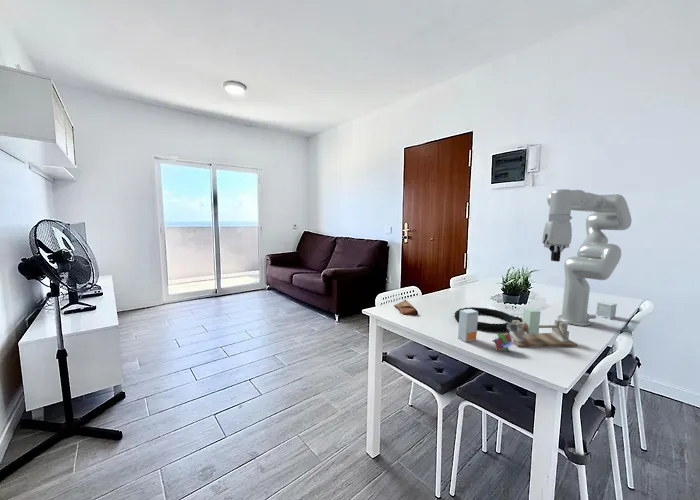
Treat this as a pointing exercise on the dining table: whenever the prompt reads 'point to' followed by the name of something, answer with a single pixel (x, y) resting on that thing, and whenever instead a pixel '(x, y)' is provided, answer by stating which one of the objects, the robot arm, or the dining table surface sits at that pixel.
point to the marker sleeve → (531, 320)
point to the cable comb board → (540, 335)
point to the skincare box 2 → (606, 309)
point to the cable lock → (495, 314)
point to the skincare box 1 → (467, 325)
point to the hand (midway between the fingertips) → (555, 260)
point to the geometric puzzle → (503, 341)
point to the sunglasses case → (406, 308)
